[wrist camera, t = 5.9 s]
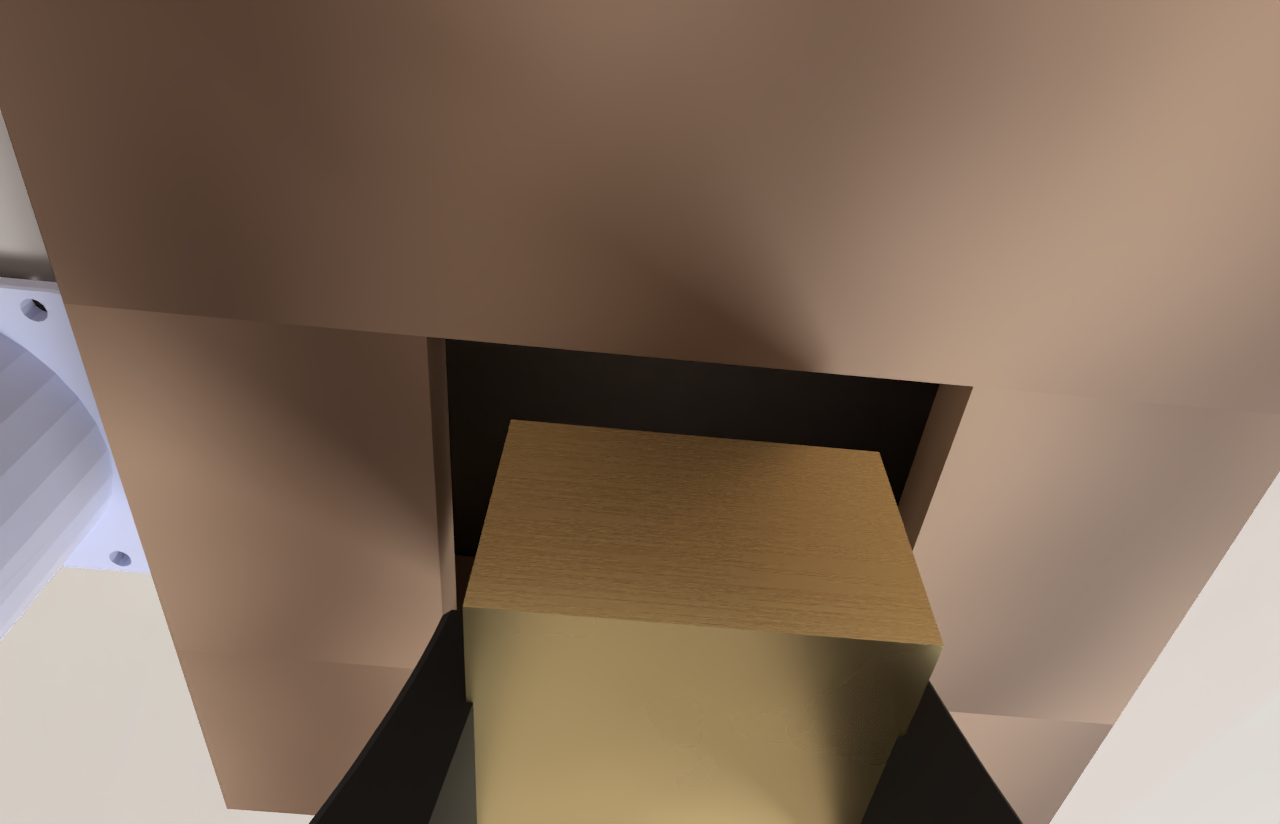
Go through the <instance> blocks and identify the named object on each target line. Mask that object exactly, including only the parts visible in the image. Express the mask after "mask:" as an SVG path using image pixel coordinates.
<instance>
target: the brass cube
mask: <svg viewBox="0 0 1280 824" xmlns="http://www.w3.org/2000/svg"><path fill="white" fill-rule="evenodd" d="M463 632H464V659H465V685H466V702H471V703H473V708H474V741H475V773H476V806H477V824H860V823H861V821H862V819H863V816H864V814H865V812H866V809H867V807H868V805H869V802H870V800H871V798H872V795H873V793H874V791H875V788H876V786H877V784H878V781H879V779H880V777H881V774H882V772H883V770H884V767H885V765H886V763H887V760H888V758H889V756H890V753H891V751H892V749H893V746H894V744H895V742H896V739H897V737H898V736H903V737H905V734H906V732H907V730H908V727H909V725H910V723H911V721H912V718H913V716H914V714H915V711H916V709H917V707H918V705H919V702H920V700H921V698H922V695H923V693H924V691H925V688H926V686H927V684H928V682H929V679H930V677H931V675H932V672H933V670H934V668H935V665H936V663H937V661H938V659H939V656H940V654H941V652H942V649H943V647H944V645H943V642H942V639H941V636H940V633H939V630H938V627H937V624H936V621H935V618H934V615H933V612H932V609H931V606H930V603H929V600H928V597H927V594H926V591H925V588H924V585H923V582H922V579H921V576H920V573H919V570H918V567H917V564H916V561H915V558H914V555H913V552H912V549H911V546H910V543H909V540H908V537H907V534H906V531H905V528H904V525H903V522H902V519H901V516H900V513H899V510H898V507H897V504H896V501H895V498H894V495H893V492H892V489H891V486H890V483H889V480H888V477H887V474H886V471H885V468H884V465H883V462H882V459H881V456H880V453H879V452H873V451H862V450H850V449H839V448H828V447H817V446H805V445H794V444H783V443H771V442H760V441H749V440H738V439H726V438H715V437H704V436H693V435H681V434H670V433H659V432H647V431H636V430H625V429H614V428H602V427H591V426H580V425H569V424H557V423H546V422H535V421H523V420H512V419H511V421H510V425H509V429H508V433H507V437H506V441H505V444H504V448H503V452H502V456H501V460H500V464H499V468H498V471H497V475H496V479H495V483H494V487H493V491H492V495H491V499H490V502H489V506H488V510H487V514H486V518H485V522H484V526H483V529H482V533H481V537H480V541H479V545H478V549H477V553H476V556H475V560H474V564H473V568H472V572H471V576H470V580H469V583H468V587H467V591H466V595H465V599H464V603H463Z"/></svg>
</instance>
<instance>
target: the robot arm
mask: <svg viewBox="0 0 1280 824" xmlns="http://www.w3.org/2000/svg"><path fill="white" fill-rule="evenodd" d="M32 299H34V300H37V301H38V302H40V303H41V304H42V305H44V307H45V308H46V310H47V312H46V311H42V310H41V309H40V308H38V307H37V306H36V305H35V303H34V302H33V300H32ZM123 552H124V553H123ZM61 566H63V567H75V568H87V569H99V570H111V571H123V572H136V573H151V572H150V569H149V566H148V563H147V560H146V556H145V553H144V550H143V547H142V544H141V541H140V538H139V535H138V532H137V529H136V526H135V523H134V519H133V516H132V513H131V510H130V507H129V504H128V501H127V498H126V495H125V492H124V489H123V485H122V482H121V479H120V476H119V473H118V470H117V467H116V464H115V461H114V458H113V455H112V451H111V448H110V445H109V442H108V439H107V436H106V433H105V430H104V427H103V424H102V421H101V418H100V414H99V411H98V408H97V405H96V402H95V399H94V396H93V393H92V390H91V387H90V384H89V380H88V377H87V374H86V371H85V368H84V365H83V362H82V359H81V356H80V353H79V350H78V347H77V343H76V340H75V337H74V334H73V331H72V328H71V325H70V322H69V319H68V316H67V313H66V309H65V306H64V303H63V300H62V297H61V294H60V291H59V288H58V285H57V282H49V281H38V280H27V279H17V278H6V277H0V642H1V640H2V639H3V638H4V637H5V636H6V634H7V633H8V632H9V631H10V629H11V628H12V627H13V626H14V624H15V623H16V622H17V621H18V619H19V618H20V617H21V616H22V614H23V613H24V612H25V611H26V610H27V608H28V607H29V606H30V605H31V603H32V602H33V601H34V600H35V598H36V597H37V596H38V595H39V593H40V592H41V591H42V590H43V588H44V587H45V586H46V585H47V584H48V582H49V581H50V580H51V579H52V577H53V576H54V575H55V574H56V572H57V571H58V570H59V569H60V567H61ZM309 824H477V806H476V773H475V741H474V708H473V703H471V702H466V685H465V659H464V632H463V611H462V610H450V611H449V612H447V613H446V614H444V615H442V618H441V620H440V622H439V624H438V626H437V628H436V630H435V632H434V634H433V636H432V638H431V640H430V641H429V643H428V645H427V647H426V649H425V651H424V652H423V654H422V656H421V658H420V660H419V661H418V663H417V665H416V667H415V668H414V670H413V672H412V673H411V675H410V677H409V678H408V680H407V682H406V683H405V685H404V687H403V688H402V690H401V691H400V693H399V695H398V696H397V698H396V700H395V701H394V703H393V704H392V706H391V708H390V709H389V711H388V712H387V714H386V715H385V717H384V718H383V720H382V721H381V723H380V724H379V726H378V727H377V729H376V730H375V732H374V733H373V735H372V736H371V738H370V739H369V741H368V742H367V744H366V745H365V747H364V748H363V750H362V751H361V753H360V754H359V756H358V757H357V759H356V760H355V762H354V763H353V764H352V766H351V767H350V769H349V770H348V772H347V773H346V774H345V776H344V777H343V779H342V780H341V781H340V783H339V784H338V785H337V787H336V788H335V789H334V791H333V792H332V793H331V795H330V796H329V797H328V799H327V800H326V801H325V803H324V804H323V805H322V807H321V808H320V810H319V811H318V812H317V814H316V815H315V816H314V818H313V819H312V820H311V822H310V823H309ZM860 824H1023V823H1022V821H1021V820H1020V818H1019V817H1018V815H1017V814H1016V812H1015V811H1014V810H1013V808H1012V807H1011V805H1010V804H1009V802H1008V801H1007V799H1006V798H1005V797H1004V795H1003V794H1002V792H1001V791H1000V789H999V788H998V786H997V785H996V783H995V782H994V781H993V779H992V778H991V776H990V775H989V773H988V772H987V770H986V769H985V767H984V766H983V764H982V763H981V761H980V760H979V758H978V757H977V755H976V753H975V752H974V750H973V749H972V747H971V746H970V744H969V743H968V741H967V739H966V738H965V736H964V735H963V733H962V732H961V730H960V729H959V727H958V725H957V724H956V722H955V721H954V719H953V718H952V716H951V714H950V713H949V711H948V710H947V708H946V706H945V705H944V703H943V702H942V700H941V698H940V697H939V695H938V694H937V692H936V690H935V689H934V687H933V685H932V684H931V682H930V681H929V682H928V684H927V686H926V688H925V691H924V693H923V695H922V698H921V700H920V702H919V705H918V707H917V709H916V711H915V714H914V716H913V718H912V721H911V723H910V725H909V727H908V730H907V732H906V734H905V737H903V736H898V737H897V739H896V742H895V744H894V746H893V749H892V751H891V753H890V756H889V758H888V760H887V763H886V765H885V767H884V770H883V772H882V774H881V777H880V779H879V781H878V784H877V786H876V788H875V791H874V793H873V795H872V798H871V800H870V802H869V805H868V807H867V809H866V812H865V814H864V816H863V819H862V821H861V823H860Z"/></svg>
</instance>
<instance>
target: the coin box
mask: <svg viewBox="0 0 1280 824" xmlns="http://www.w3.org/2000/svg"><path fill="white" fill-rule="evenodd" d="M0 109H1V112H2V115H3V118H4V121H5V124H6V127H7V130H8V134H9V137H10V140H11V143H12V146H13V149H14V152H15V155H16V158H17V161H18V164H19V167H20V171H21V174H22V177H23V180H24V183H25V186H26V189H27V192H28V195H29V198H30V201H31V205H32V208H33V211H34V214H35V217H36V220H37V223H38V226H39V229H40V232H41V235H42V238H43V242H44V245H45V248H46V251H47V254H48V257H49V260H50V263H51V266H52V269H53V272H54V276H55V279H56V282H57V285H58V288H59V291H60V294H61V297H62V300H63V303H64V306H65V309H66V313H67V316H68V319H69V322H70V325H71V328H72V331H73V334H74V337H75V340H76V343H77V347H78V350H79V353H80V356H81V359H82V362H83V365H84V368H85V371H86V374H87V377H88V380H89V384H90V387H91V390H92V393H93V396H94V399H95V402H96V405H97V408H98V411H99V414H100V418H101V421H102V424H103V427H104V430H105V433H106V436H107V439H108V442H109V445H110V448H111V451H112V455H113V458H114V461H115V464H116V467H117V470H118V473H119V476H120V479H121V482H122V485H123V489H124V492H125V495H126V498H127V501H128V504H129V507H130V510H131V513H132V516H133V519H134V523H135V526H136V529H137V532H138V535H139V538H140V541H141V544H142V547H143V550H144V553H145V556H146V560H147V563H148V566H149V569H150V572H151V575H152V578H153V581H154V584H155V587H156V590H157V594H158V597H159V600H160V603H161V606H162V609H163V612H164V615H165V618H166V621H167V624H168V627H169V631H170V634H171V637H172V640H173V643H174V646H175V649H176V652H177V655H178V658H179V661H180V665H181V668H182V671H183V674H184V677H185V680H186V683H187V686H188V689H189V692H190V695H191V698H192V702H193V705H194V708H195V711H196V714H197V717H198V720H199V723H200V726H201V729H202V732H203V736H204V739H205V742H206V745H207V748H208V751H209V754H210V757H211V760H212V763H213V766H214V769H215V773H216V776H217V779H218V782H219V785H220V788H221V791H222V794H223V797H224V800H225V803H226V807H227V809H239V810H253V811H266V812H279V813H293V814H306V815H316V814H317V812H318V811H319V810H320V808H321V807H322V805H323V804H324V803H325V801H326V800H327V799H328V797H329V796H330V795H331V793H332V792H333V791H334V789H335V788H336V787H337V785H338V784H339V783H340V781H341V780H342V779H343V777H344V776H345V774H346V773H347V772H348V770H349V769H350V767H351V766H352V764H353V763H354V762H355V760H356V759H357V757H358V756H359V754H360V753H361V751H362V750H363V748H364V747H365V745H366V744H367V742H368V741H369V739H370V738H371V736H372V735H373V733H374V732H375V730H376V729H377V727H378V726H379V724H380V723H381V721H382V720H383V718H384V717H385V715H386V714H387V712H388V711H389V709H390V708H391V706H392V704H393V703H394V701H395V700H396V698H397V696H398V695H399V693H400V691H401V690H402V688H403V687H404V685H405V683H406V682H407V680H408V678H409V677H410V675H411V673H412V672H413V670H414V668H415V667H416V665H417V663H418V661H419V660H420V658H421V656H422V654H423V652H424V651H425V649H426V647H427V645H428V643H429V641H430V640H431V638H432V636H433V634H434V632H435V630H436V628H437V626H438V624H439V622H440V620H441V618H442V615H444V614H446V613H447V612H449V611H450V610H462V611H463V603H464V599H465V595H466V591H467V587H468V583H469V580H470V576H471V572H472V568H473V564H474V560H475V557H473V556H461V555H455V554H454V531H453V508H452V485H451V462H450V440H449V417H448V394H447V371H446V348H445V338H446V339H457V340H468V341H479V342H490V343H501V344H512V345H523V346H534V347H545V348H556V349H567V350H578V351H589V352H600V353H611V354H622V355H633V356H644V357H655V358H666V359H676V360H687V361H698V362H709V363H720V364H731V365H742V366H753V367H764V368H775V369H786V370H797V371H808V372H819V373H830V374H841V375H852V376H863V377H874V378H885V379H896V380H907V381H918V382H929V383H939V384H940V385H939V388H938V391H937V394H936V396H935V399H934V402H933V405H932V408H931V411H930V414H929V417H928V420H927V423H926V426H925V429H924V432H923V434H922V437H921V440H920V443H919V446H918V449H917V452H916V455H915V458H914V461H913V464H912V467H911V469H910V472H909V475H908V478H907V481H906V484H905V487H904V490H903V493H902V496H901V499H900V502H899V504H898V510H899V513H900V516H901V519H902V522H903V525H904V528H905V531H906V534H907V537H908V540H909V543H910V546H911V549H912V552H913V555H914V558H915V561H916V564H917V567H918V570H919V573H920V576H921V579H922V582H923V585H924V588H925V591H926V594H927V597H928V600H929V603H930V606H931V609H932V612H933V615H934V618H935V621H936V624H937V627H938V630H939V633H940V636H941V639H942V642H943V645H944V647H943V649H942V652H941V654H940V656H939V659H938V661H937V663H936V665H935V668H934V670H933V672H932V675H931V677H930V679H929V681H930V682H931V684H932V685H933V687H934V689H935V690H936V692H937V694H938V695H939V697H940V698H941V700H942V702H943V703H944V705H945V706H946V708H947V710H948V711H949V713H950V714H951V716H952V718H953V719H954V721H955V722H956V724H957V725H958V727H959V729H960V730H961V732H962V733H963V735H964V736H965V738H966V739H967V741H968V743H969V744H970V746H971V747H972V749H973V750H974V752H975V753H976V755H977V757H978V758H979V760H980V761H981V763H982V764H983V766H984V767H985V769H986V770H987V772H988V773H989V775H990V776H991V778H992V779H993V781H994V782H995V783H996V785H997V786H998V788H999V789H1000V791H1001V792H1002V794H1003V795H1004V797H1005V798H1006V799H1007V801H1008V802H1009V804H1010V805H1011V807H1012V808H1013V810H1014V811H1015V812H1016V814H1017V815H1018V817H1019V818H1020V820H1021V821H1022V823H1023V824H1049V823H1050V821H1051V820H1052V818H1053V817H1054V815H1055V814H1056V812H1057V811H1058V809H1059V808H1060V806H1061V805H1062V803H1063V802H1064V800H1065V799H1066V797H1067V795H1068V794H1069V792H1070V791H1071V789H1072V788H1073V786H1074V785H1075V783H1076V782H1077V780H1078V779H1079V777H1080V776H1081V774H1082V773H1083V771H1084V769H1085V768H1086V766H1087V765H1088V763H1089V762H1090V760H1091V759H1092V757H1093V756H1094V754H1095V753H1096V751H1097V750H1098V748H1099V747H1100V745H1101V743H1102V742H1103V740H1104V739H1105V737H1106V736H1107V734H1108V733H1109V731H1110V730H1111V728H1112V727H1113V725H1114V724H1115V722H1116V721H1117V719H1118V717H1119V716H1120V714H1121V713H1122V711H1123V710H1124V708H1125V707H1126V705H1127V704H1128V702H1129V701H1130V699H1131V698H1132V696H1133V695H1134V693H1135V691H1136V690H1137V688H1138V687H1139V685H1140V684H1141V682H1142V681H1143V679H1144V678H1145V676H1146V675H1147V673H1148V672H1149V670H1150V669H1151V667H1152V665H1153V664H1154V662H1155V661H1156V659H1157V658H1158V656H1159V655H1160V653H1161V652H1162V650H1163V649H1164V647H1165V646H1166V644H1167V643H1168V641H1169V639H1170V638H1171V636H1172V635H1173V633H1174V632H1175V630H1176V629H1177V627H1178V626H1179V624H1180V623H1181V621H1182V620H1183V618H1184V617H1185V615H1186V613H1187V612H1188V610H1189V609H1190V607H1191V606H1192V604H1193V603H1194V601H1195V600H1196V598H1197V597H1198V595H1199V594H1200V592H1201V591H1202V589H1203V587H1204V586H1205V584H1206V583H1207V581H1208V580H1209V578H1210V577H1211V575H1212V574H1213V572H1214V571H1215V569H1216V568H1217V566H1218V565H1219V563H1220V561H1221V560H1222V558H1223V557H1224V555H1225V554H1226V552H1227V551H1228V549H1229V548H1230V546H1231V545H1232V543H1233V542H1234V540H1235V539H1236V537H1237V535H1238V534H1239V532H1240V531H1241V529H1242V528H1243V526H1244V525H1245V523H1246V522H1247V520H1248V519H1249V517H1250V516H1251V514H1252V513H1253V511H1254V509H1255V508H1256V506H1257V505H1258V503H1259V502H1260V500H1261V499H1262V497H1263V496H1264V494H1265V493H1266V491H1267V490H1268V488H1269V487H1270V485H1271V483H1272V482H1273V480H1274V479H1275V477H1276V476H1277V474H1278V473H1279V471H1280V0H0Z"/></svg>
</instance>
